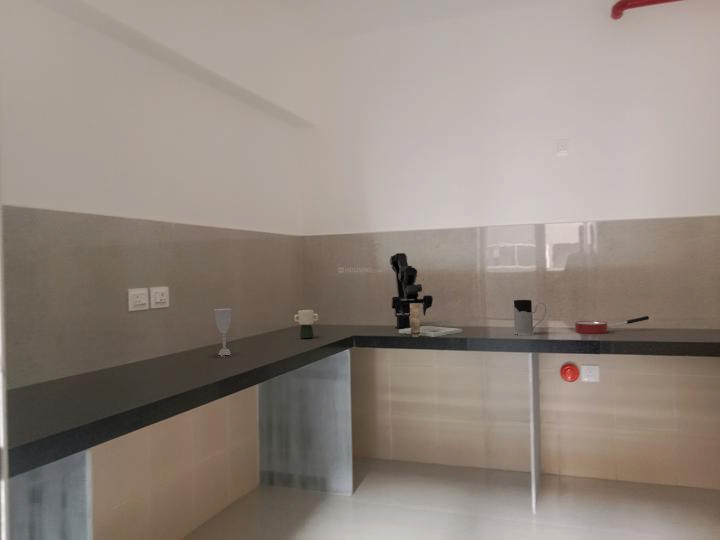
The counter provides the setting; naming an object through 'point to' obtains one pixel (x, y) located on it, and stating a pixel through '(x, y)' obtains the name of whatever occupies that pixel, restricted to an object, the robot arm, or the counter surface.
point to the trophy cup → (306, 322)
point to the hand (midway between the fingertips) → (414, 315)
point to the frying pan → (600, 326)
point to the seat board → (433, 331)
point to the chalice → (223, 326)
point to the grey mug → (524, 317)
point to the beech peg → (415, 319)
